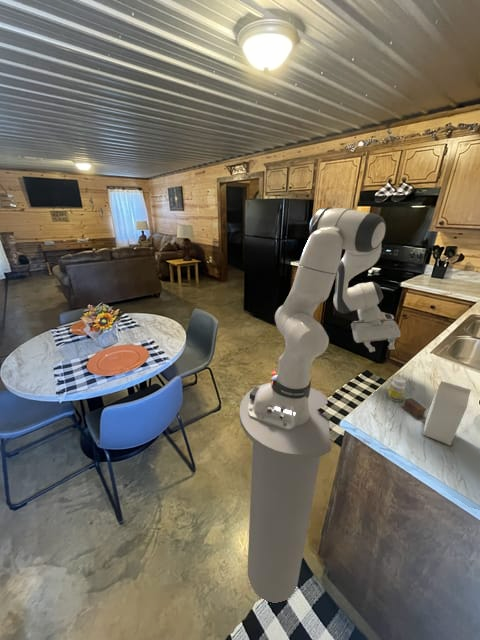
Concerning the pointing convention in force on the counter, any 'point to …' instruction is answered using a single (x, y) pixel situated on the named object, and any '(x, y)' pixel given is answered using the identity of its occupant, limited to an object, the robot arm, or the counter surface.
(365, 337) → the robot arm
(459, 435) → the counter surface
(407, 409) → the brown wooden block
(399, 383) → the supplement bottle
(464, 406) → the milk carton
